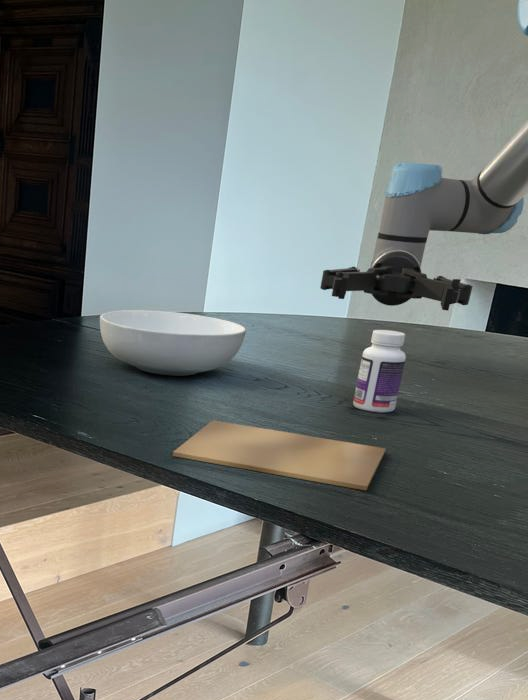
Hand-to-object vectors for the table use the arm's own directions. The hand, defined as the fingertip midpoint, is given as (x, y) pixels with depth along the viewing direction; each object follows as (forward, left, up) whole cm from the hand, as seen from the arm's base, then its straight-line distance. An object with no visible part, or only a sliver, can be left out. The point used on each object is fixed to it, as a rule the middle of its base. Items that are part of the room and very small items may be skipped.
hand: (394, 294), depth 133 cm
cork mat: (+5, +40, -13) cm, 42 cm away
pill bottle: (-1, +10, -13) cm, 17 cm away
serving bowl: (+29, +5, -13) cm, 32 cm away
